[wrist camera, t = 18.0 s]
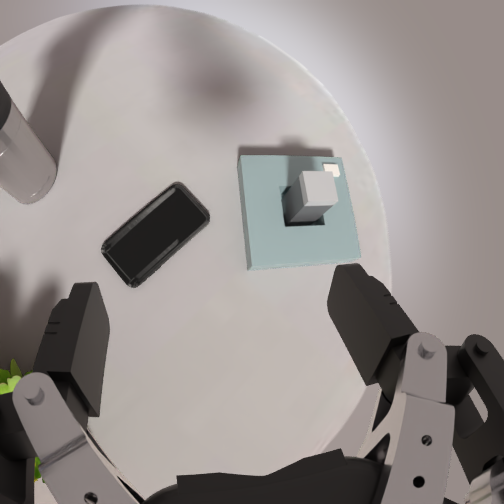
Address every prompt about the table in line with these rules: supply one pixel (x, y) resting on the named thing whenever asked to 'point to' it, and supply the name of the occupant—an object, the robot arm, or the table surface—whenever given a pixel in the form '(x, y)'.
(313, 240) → the socket
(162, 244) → the phone
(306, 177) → the plug
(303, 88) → the table surface
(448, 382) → the robot arm
